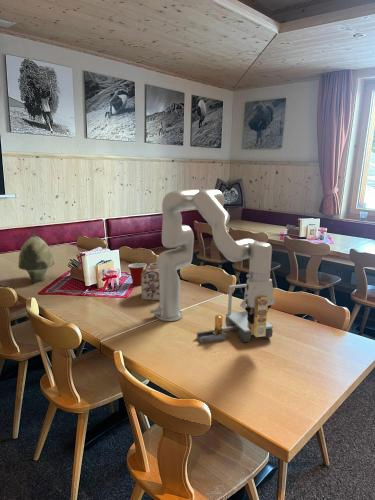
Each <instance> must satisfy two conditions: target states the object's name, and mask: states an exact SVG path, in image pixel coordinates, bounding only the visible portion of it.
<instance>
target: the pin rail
mask: <svg viewBox="0 0 375 500" xmlns="http://www.w3.org/2000/svg"><path fill="white" fill-rule="evenodd" d="M213 332H215V329H211V330H204V331H199V332H196V339H197V341H199V343H200V344H208V343H213V342H220V341H224V340H225V341H226V340H227V333H226V332H223V333H221V334H215V335H213Z"/></svg>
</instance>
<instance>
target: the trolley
mask: <svg viewBox="0 0 375 500" xmlns="http://www.w3.org/2000/svg"><path fill="white" fill-rule="evenodd" d="M239 288H240V289H241V288H246V283H241V284H232V285H229V286H228V304H227V313H225V325H226V326H225V327H229V326H235V325H236V326H237V328H238V329H237V330H238V334H237V335H238V338H239V340H240V342H242V343H246V342H250V341H251V340H252V335H253V336H255V335H254V334H253V333H252V332H251V331H250V330H249V328H248V327H247V325H248V320H247V316H248V312H247V311H246V310H244V311H238V312H232V300H233V299H232V298H233V289H239ZM273 328H274V326H273V325H272V324H270V323H269V322H268V321H266V336H263V337H261V338H262V339H264V340H266V339H269V338H270V339H271V338H272V336H273Z"/></svg>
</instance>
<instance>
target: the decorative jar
mask: <svg viewBox="0 0 375 500" xmlns="http://www.w3.org/2000/svg"><path fill="white" fill-rule="evenodd" d="M140 286H141V288H140V289H141V300H147V301H159V270H158V265H157V262H151V263H150V264H149V265H147V266H145V267H144V268H143V270H142V275H141V285H140Z"/></svg>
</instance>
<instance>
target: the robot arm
mask: <svg viewBox="0 0 375 500" xmlns="http://www.w3.org/2000/svg"><path fill="white" fill-rule="evenodd" d="M225 202H226V199H225V195H224V193H223V192H222V191H220V190H219V189H216V188H212V189H211V188H210V189H206V188H204V189H203V188H200V189H199V188H198V189H197V188H192V189H178V190H177V189H176V190H173V191H170V192H167V193H166V194H165V195H164V197H163V199H162V203H161V207H162V225H161V227H162V228H161V243H162V245H163V247H165V248H166V249H168V250H165V251H163V252H161V253H159V254H158V256H157V258H156V263H157V265H158V270H159V300H158V301H159V302H158V303H159V304H158V305H157V307H156V308H152V309H149V310H148V311H149V314H153V316H156V318H157V319H158V320H160V321H164V322H175V321H178V320H180V319H182V318H183V316H184V313H183V312H182V311H181V309H180V308H181V307H180V306H181V303H180V302H181V301H180V300H181V298H180V297H181V296H180V295H181V279H180V276H179V274H178V271H177V270H181V269H184V268H186V267H188V266H190V265H191V263H192V261H193V255H194V243H195V236H194V231H193V229H192V228H191V227H190V225H188V224H187V225H186V224H182V223H183V215H182V212H181V211H187V210H195V209H196V210H197V211H198V213H199V214H200V215H201V216H202V218H203V219H204V220H205V221H206V222H207V223H208V225H209V226H210V228H211V229H212V237H213V238H212V239H213V241H214V244H215V246H216V248H217V250H219V252H220V253H221V254H222V255H223V256H224V257H225V258H226V259H227V260H228V261H229V262H233V263H237V262H240V261H243V260H248V259H249V271H248V273H246V276H245V277H246V278H247V280H246V283H245V284H246V287H244V297H243V300H242V301H241V302H240V305H239V306H240V307H241V308H242V309H244V311H247V312H248V316H247V320H248V322H249V323H251V324H253V323H254V314H253V310H254V308H256V301H257V298H258V297H265V296H266V297H267V298H268V305H267V313H268V312H269V309H271V307H272V306H273V305H274V304H275V303H276V301H275V299H274V287H273V279H272V278H271V267H272V266H271V265H272V253H273V248H272V245H271V244H270V243H268V242H265V241H258V240H255V239H252V238H249V237H248V238H247V237H246V238H242V239H237V240H234V239H233V237H232V236H231V235H230V234H229V232H228V231H227V227H226V226H227V224H228V223H229V221H230V217H231V215H230V214H229V212H228V211H227V210H226V208H224V205H225ZM247 304H248V306H247Z"/></svg>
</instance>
